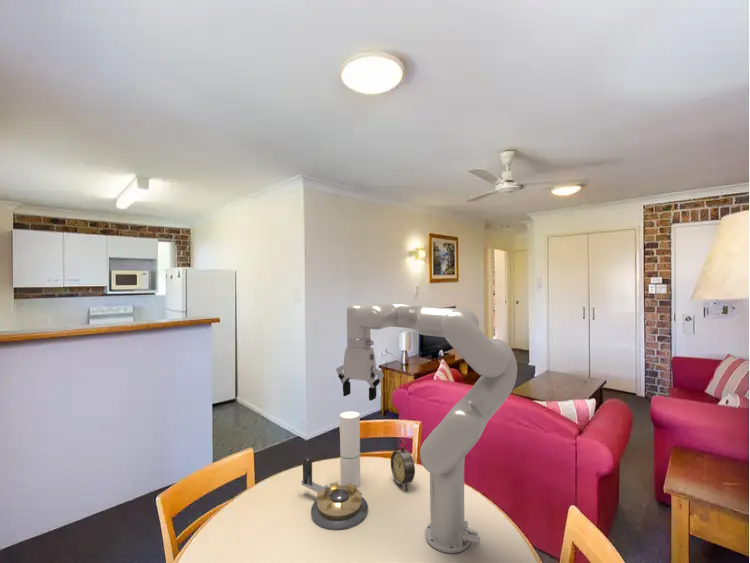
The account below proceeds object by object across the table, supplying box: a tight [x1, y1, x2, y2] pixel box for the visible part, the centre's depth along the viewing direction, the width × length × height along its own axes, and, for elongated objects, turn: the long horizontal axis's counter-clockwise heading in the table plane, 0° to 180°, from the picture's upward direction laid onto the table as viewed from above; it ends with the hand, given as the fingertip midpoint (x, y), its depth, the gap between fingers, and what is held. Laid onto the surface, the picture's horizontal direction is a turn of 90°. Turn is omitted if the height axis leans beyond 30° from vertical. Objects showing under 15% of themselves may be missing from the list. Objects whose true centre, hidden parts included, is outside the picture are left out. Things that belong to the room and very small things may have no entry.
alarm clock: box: [390, 438, 416, 492], centre depth 131 cm, size 11×5×16 cm, turn 25°
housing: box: [310, 496, 369, 531], centre depth 116 cm, size 18×18×1 cm
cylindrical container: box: [339, 410, 361, 488], centre depth 132 cm, size 7×7×25 cm
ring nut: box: [300, 455, 363, 520], centre depth 119 cm, size 24×14×11 cm, turn 53°
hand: (359, 397), depth 116 cm, fingers open, 9 cm apart
